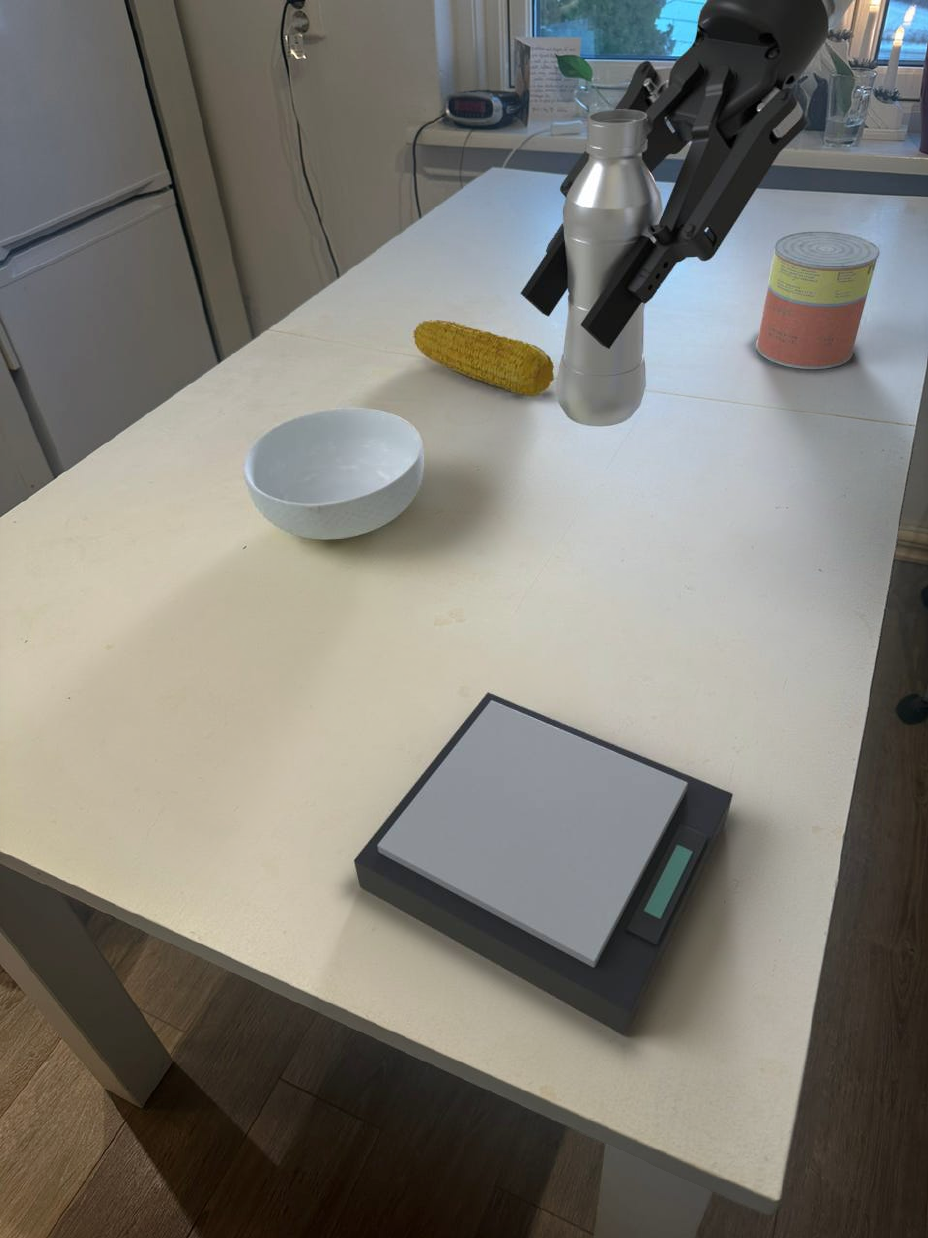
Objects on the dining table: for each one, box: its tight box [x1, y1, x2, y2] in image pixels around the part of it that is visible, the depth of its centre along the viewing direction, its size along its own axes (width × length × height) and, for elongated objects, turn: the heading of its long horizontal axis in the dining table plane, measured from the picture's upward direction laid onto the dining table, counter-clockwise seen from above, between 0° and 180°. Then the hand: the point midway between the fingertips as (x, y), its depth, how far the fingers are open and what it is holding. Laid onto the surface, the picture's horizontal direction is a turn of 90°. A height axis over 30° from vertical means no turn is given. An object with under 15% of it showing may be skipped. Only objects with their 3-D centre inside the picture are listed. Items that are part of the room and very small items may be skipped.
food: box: [412, 319, 555, 397], centre depth 104 cm, size 21×6×6 cm, turn 48°
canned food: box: [755, 231, 880, 370], centre depth 103 cm, size 11×11×12 cm
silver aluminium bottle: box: [556, 109, 664, 427], centre depth 59 cm, size 6×7×20 cm
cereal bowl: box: [242, 407, 425, 541], centre depth 83 cm, size 17×17×7 cm
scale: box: [353, 691, 734, 1037], centre depth 55 cm, size 18×16×4 cm
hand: (563, 319), depth 59 cm, fingers closed on silver aluminium bottle, 6 cm apart
